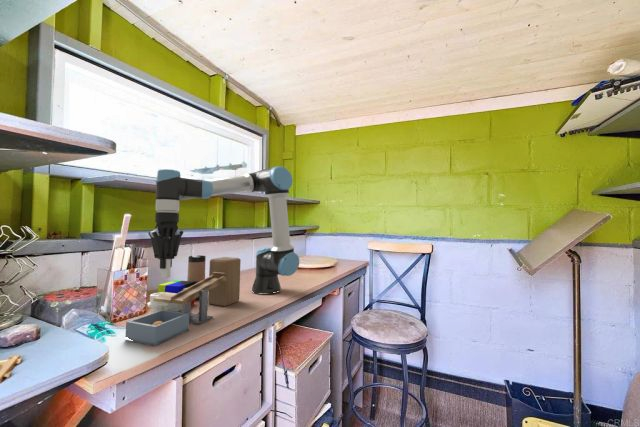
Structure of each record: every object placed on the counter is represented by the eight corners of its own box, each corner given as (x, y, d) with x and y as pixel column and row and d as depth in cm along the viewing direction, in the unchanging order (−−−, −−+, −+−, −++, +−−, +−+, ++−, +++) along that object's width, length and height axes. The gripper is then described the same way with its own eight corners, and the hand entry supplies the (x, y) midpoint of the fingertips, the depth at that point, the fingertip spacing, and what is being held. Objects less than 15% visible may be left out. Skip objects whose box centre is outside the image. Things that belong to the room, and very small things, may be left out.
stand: (189, 314, 104) (190, 285, 104) (213, 318, 100) (214, 288, 101) (174, 320, 97) (176, 289, 98) (199, 324, 94) (200, 292, 94)
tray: (161, 325, 92) (162, 309, 92) (188, 330, 89) (189, 313, 89) (125, 340, 80) (126, 321, 80) (154, 346, 77) (155, 326, 77)
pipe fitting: (171, 313, 105) (172, 292, 106) (154, 319, 98) (155, 297, 99) (159, 311, 107) (160, 291, 108) (142, 316, 101) (143, 295, 101)
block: (207, 304, 118) (208, 258, 119) (222, 298, 127) (224, 256, 128) (225, 307, 114) (226, 260, 115) (240, 301, 124) (241, 257, 125)
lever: (200, 278, 116) (199, 270, 115) (226, 280, 111) (226, 272, 111) (153, 301, 94) (152, 292, 94) (184, 305, 90) (183, 296, 90)
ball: (146, 327, 82) (151, 335, 84) (155, 329, 81) (160, 336, 83) (155, 317, 85) (160, 325, 87) (163, 319, 84) (168, 326, 86)
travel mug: (199, 300, 123) (201, 257, 124) (183, 300, 123) (185, 257, 124) (206, 296, 131) (208, 255, 132) (191, 296, 131) (193, 255, 132)
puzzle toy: (178, 311, 108) (179, 286, 109) (157, 309, 110) (158, 284, 111) (194, 304, 118) (195, 281, 118) (174, 302, 120) (175, 280, 120)
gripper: (174, 212, 104) (172, 273, 103) (142, 211, 92) (140, 280, 91) (189, 212, 102) (187, 274, 101) (159, 211, 89) (157, 281, 89)
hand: (165, 277), depth 96 cm, fingers closed
